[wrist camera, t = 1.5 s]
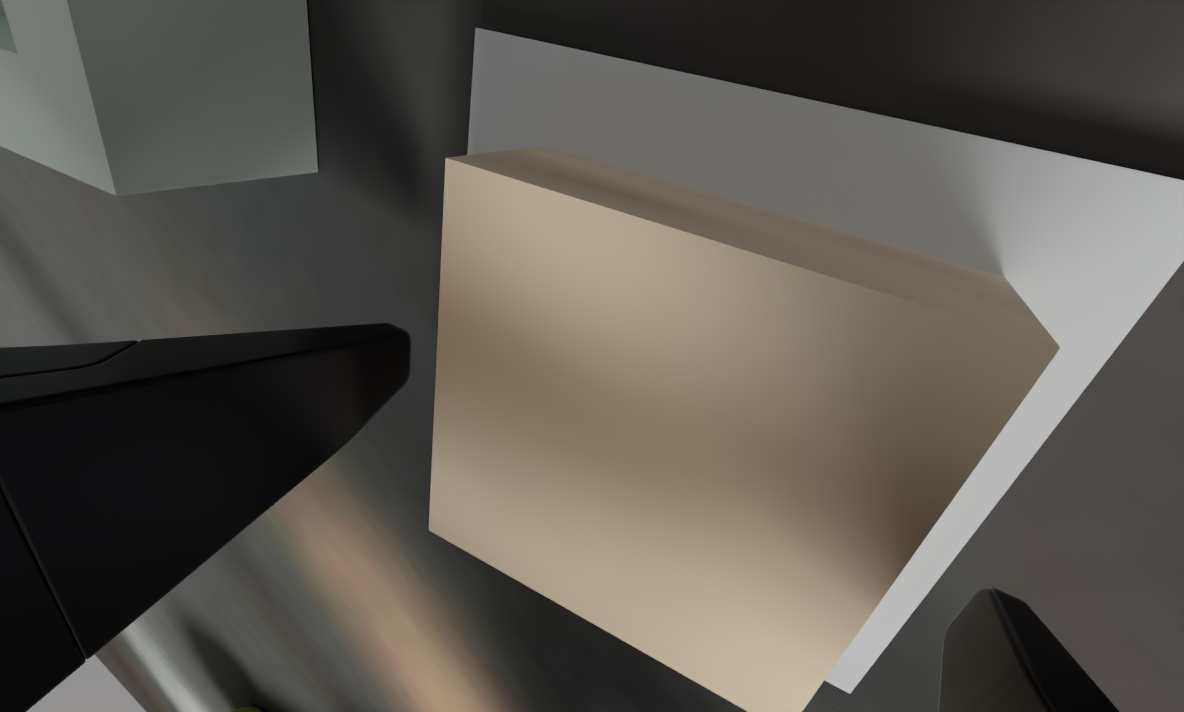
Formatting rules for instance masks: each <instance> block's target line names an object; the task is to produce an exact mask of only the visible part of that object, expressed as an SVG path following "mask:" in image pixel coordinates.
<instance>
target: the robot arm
mask: <svg viewBox="0 0 1184 712" xmlns="http://www.w3.org/2000/svg"><path fill="white" fill-rule="evenodd" d="M410 354H411V339H410V336H409V333H408V332H407V331H405V330H403V329H401V328H399V327H396V326H394V325H392V324H388V323H380V324H366V325H351V326H337V327H323V328H308V329H294V330H280V331H265V332H251V333H236V334H222V335H208V336H193V337H179V338H164V339H150V340H142V341H140V342H138V341H120V342H106V343H89V344H72V345H54V346H30V347H5V348H0V712H26V711H27V710H29V709H30V708H31V707H32V706H33V705H35V704H36V703H37V702H38V701H39V700H41V699H42V698H43V697H44V696H45V695H47V694H48V693H49V692H50V691H51V690H52V689H54V688H55V687H56V686H57V685H59V684H60V683H61V682H62V681H63V680H65V679H66V678H67V677H68V676H69V675H71V674H72V673H73V672H74V671H75V670H77V669H78V668H79V667H80V666H81V665H82V664H84V663H85V659H89V658H90V657H91V656H92V655H94V654H95V653H96V652H97V651H99V650H100V649H101V648H102V647H103V646H105V645H106V644H107V643H108V642H109V641H111V640H112V639H113V638H114V637H115V636H117V635H118V634H119V633H120V632H121V631H123V630H124V629H125V628H126V627H127V626H129V625H130V624H131V623H132V622H133V621H135V620H136V619H137V618H138V617H139V616H141V615H142V614H143V613H144V612H145V611H147V610H148V609H149V608H150V607H151V606H153V605H154V604H155V603H156V602H157V601H159V600H160V599H161V598H162V597H163V596H165V595H166V594H167V593H168V592H169V591H171V590H172V589H173V588H174V587H175V586H177V585H178V584H179V583H180V582H181V581H183V580H184V579H185V578H186V577H187V576H189V575H190V574H191V573H192V572H193V571H195V570H196V569H197V568H198V567H199V566H201V565H202V564H203V563H204V562H205V561H207V560H208V559H209V558H210V557H211V556H213V555H214V554H215V553H216V552H217V551H219V550H220V549H221V548H222V547H223V546H225V545H226V544H227V543H228V542H229V541H231V540H232V539H233V538H234V537H235V536H237V535H238V534H239V533H240V532H241V531H243V530H244V529H245V528H246V527H247V526H249V525H250V524H251V523H252V522H253V521H255V520H256V519H257V518H258V517H259V516H261V515H262V514H263V513H264V512H265V511H267V510H268V509H269V508H270V507H271V506H273V505H274V504H275V503H276V502H277V501H279V500H280V499H281V498H282V497H283V496H285V495H286V494H287V493H288V492H289V491H291V490H292V489H293V488H294V487H295V486H297V485H298V484H299V483H300V482H301V481H303V480H304V479H305V478H306V477H307V476H309V475H310V474H311V473H312V472H313V471H315V470H316V469H317V468H318V467H319V466H321V465H322V464H323V463H324V462H325V461H327V460H328V459H329V458H330V457H331V456H333V455H334V454H335V453H336V452H337V451H338V450H339V449H341V448H342V447H343V446H344V445H345V444H346V443H347V442H348V441H349V440H350V439H351V438H353V437H354V436H355V435H356V434H357V433H358V432H359V431H360V430H361V429H362V428H363V427H364V426H365V425H366V424H367V422H368V421H369V420H370V419H371V418H372V417H373V416H374V415H375V414H376V413H377V412H378V411H379V410H380V409H381V408H382V407H383V406H384V405H385V404H386V403H387V402H388V401H389V400H390V399H391V398H392V397H393V396H394V395H395V394H396V393H397V392H398V391H399V390H400V389H401V388H402V387H403V386H404V385H405V383H406V382H407V380H408V378H409V375H410ZM938 712H1119V711H1118V709H1117V708H1116V707H1115V706H1114V705H1113V704H1112V702H1111V701H1110V700H1109V699H1108V698H1107V697H1106V695H1105V694H1104V693H1103V692H1102V691H1101V690H1100V688H1099V687H1098V686H1097V685H1096V684H1095V683H1094V681H1093V680H1092V679H1091V678H1090V677H1089V676H1088V674H1087V673H1086V672H1085V671H1084V670H1083V669H1082V668H1081V666H1080V665H1079V664H1078V663H1077V662H1076V661H1075V659H1074V658H1073V657H1072V656H1071V655H1070V654H1069V652H1068V651H1067V650H1066V649H1065V648H1064V647H1063V645H1062V644H1061V643H1060V642H1059V641H1058V640H1057V638H1056V637H1055V636H1054V635H1053V634H1052V633H1051V631H1050V630H1049V629H1048V628H1047V627H1046V626H1045V625H1044V623H1043V622H1042V621H1041V620H1040V619H1039V618H1038V616H1037V615H1036V614H1035V613H1034V612H1033V611H1032V609H1031V608H1030V607H1029V606H1028V605H1027V604H1026V603H1025V602H1023V601H1022V600H1020V599H1018V598H1016V597H1013V596H1011V595H1009V594H1007V593H1004V592H1002V591H1000V590H997V589H995V588H993V587H982V588H981V589H979V590H978V591H977V592H976V593H975V594H974V595H973V596H972V597H971V599H970V600H969V601H968V602H967V603H966V605H965V606H964V607H963V608H962V609H961V611H960V612H959V613H958V614H957V615H956V617H955V618H954V619H953V620H952V621H951V623H950V624H949V626H948V627H947V629H946V632H945V635H944V639H943V650H942V664H941V679H940V694H939V709H938Z"/></svg>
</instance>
